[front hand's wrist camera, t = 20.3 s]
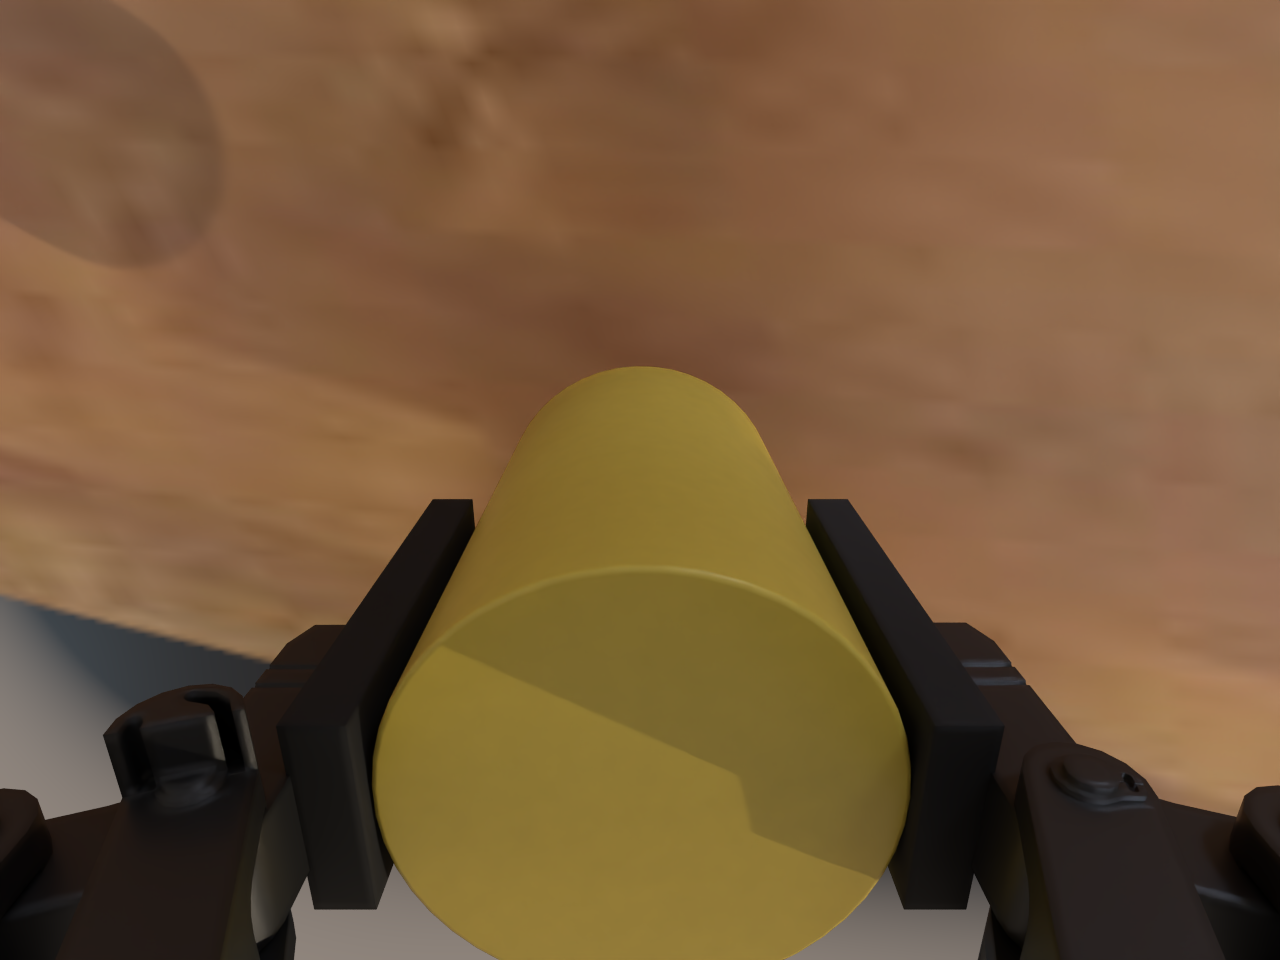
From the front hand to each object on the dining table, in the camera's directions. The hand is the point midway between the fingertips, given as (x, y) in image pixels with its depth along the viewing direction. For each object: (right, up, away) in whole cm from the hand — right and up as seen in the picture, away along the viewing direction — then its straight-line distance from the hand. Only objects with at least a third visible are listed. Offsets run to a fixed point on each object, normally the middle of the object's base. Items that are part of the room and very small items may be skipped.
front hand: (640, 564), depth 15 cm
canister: (0, +1, +4) cm, 4 cm away
